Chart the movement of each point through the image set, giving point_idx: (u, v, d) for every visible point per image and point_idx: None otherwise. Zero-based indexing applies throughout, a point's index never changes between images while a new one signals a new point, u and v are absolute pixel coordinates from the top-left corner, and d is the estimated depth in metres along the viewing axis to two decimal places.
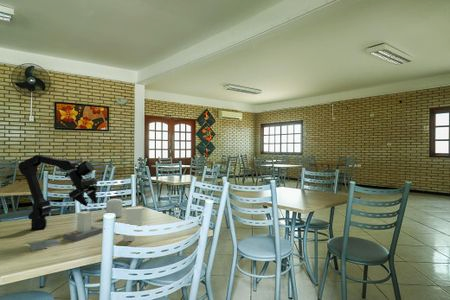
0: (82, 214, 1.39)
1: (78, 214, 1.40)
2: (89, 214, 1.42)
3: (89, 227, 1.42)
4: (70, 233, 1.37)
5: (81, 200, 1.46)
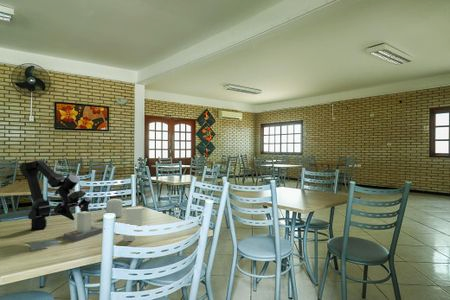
0: (82, 214, 1.39)
1: (78, 214, 1.40)
2: (89, 214, 1.42)
3: (89, 227, 1.42)
4: (70, 233, 1.37)
5: (67, 214, 1.38)
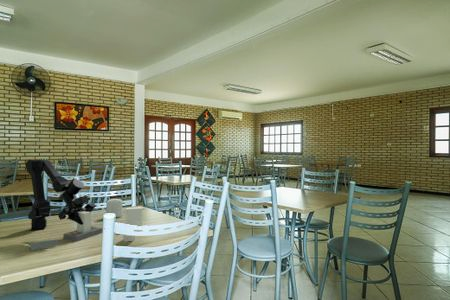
0: (82, 214, 1.39)
1: (78, 214, 1.40)
2: (89, 214, 1.42)
3: (89, 227, 1.42)
4: (70, 233, 1.37)
5: (76, 219, 1.39)
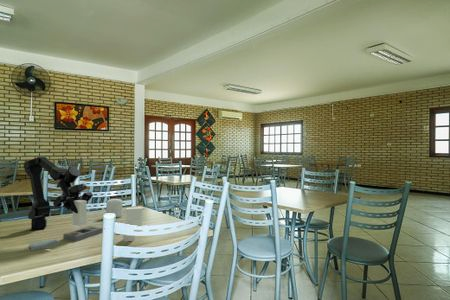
0: (77, 202, 1.37)
1: (74, 202, 1.38)
2: (85, 203, 1.39)
3: (84, 216, 1.39)
4: (70, 233, 1.37)
5: (71, 207, 1.37)
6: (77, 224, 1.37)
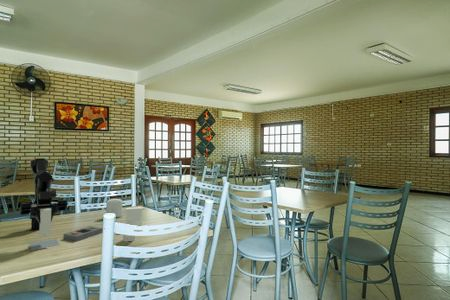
0: (40, 211, 1.26)
1: (40, 211, 1.28)
2: (48, 212, 1.26)
3: (48, 226, 1.26)
4: (70, 233, 1.37)
5: (36, 216, 1.27)
6: (40, 235, 1.25)
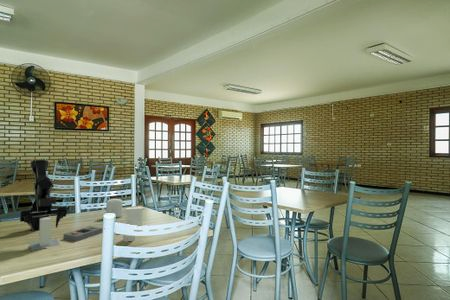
0: (40, 220, 1.26)
1: None
2: (48, 221, 1.26)
3: (48, 235, 1.26)
4: (70, 233, 1.37)
5: (30, 223, 1.25)
6: (39, 244, 1.25)
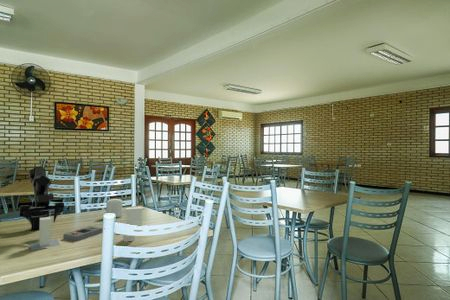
0: (40, 220, 1.26)
1: None
2: (48, 221, 1.26)
3: (48, 235, 1.26)
4: (70, 233, 1.37)
5: (28, 218, 1.33)
6: (39, 244, 1.25)
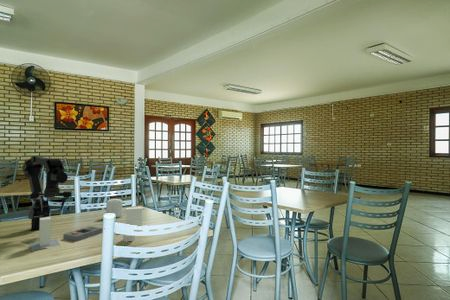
0: (40, 220, 1.26)
1: None
2: (48, 221, 1.26)
3: (48, 235, 1.26)
4: (70, 233, 1.37)
5: None
6: (39, 244, 1.25)
